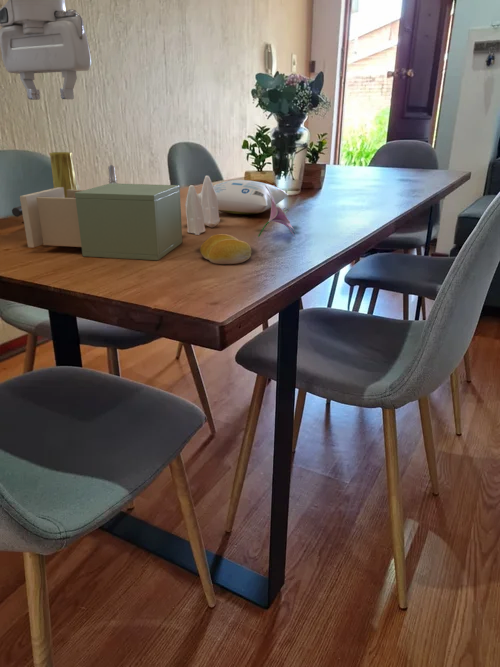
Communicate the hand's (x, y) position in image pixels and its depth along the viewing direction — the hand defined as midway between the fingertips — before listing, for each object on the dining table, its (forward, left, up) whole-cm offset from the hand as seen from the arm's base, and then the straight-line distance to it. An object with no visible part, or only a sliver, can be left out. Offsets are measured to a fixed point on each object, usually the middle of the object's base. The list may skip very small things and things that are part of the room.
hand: (50, 99), depth 95 cm
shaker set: (+28, +6, -26) cm, 38 cm away
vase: (-9, +28, -26) cm, 39 cm away
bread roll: (+34, -19, -26) cm, 46 cm away
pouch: (+36, +28, -26) cm, 52 cm away
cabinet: (+17, -12, -25) cm, 33 cm away
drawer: (+3, -10, -24) cm, 27 cm away
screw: (+8, +10, -26) cm, 29 cm away
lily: (+44, -1, -26) cm, 50 cm away
